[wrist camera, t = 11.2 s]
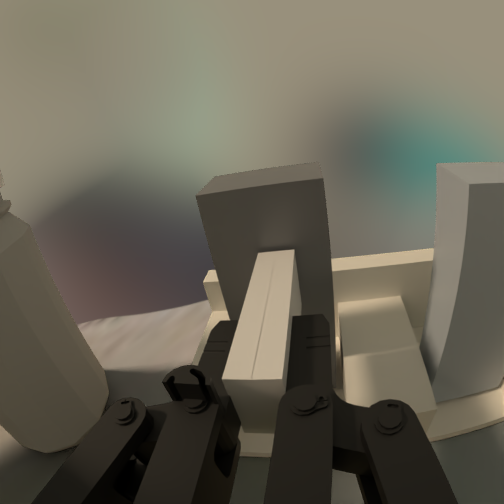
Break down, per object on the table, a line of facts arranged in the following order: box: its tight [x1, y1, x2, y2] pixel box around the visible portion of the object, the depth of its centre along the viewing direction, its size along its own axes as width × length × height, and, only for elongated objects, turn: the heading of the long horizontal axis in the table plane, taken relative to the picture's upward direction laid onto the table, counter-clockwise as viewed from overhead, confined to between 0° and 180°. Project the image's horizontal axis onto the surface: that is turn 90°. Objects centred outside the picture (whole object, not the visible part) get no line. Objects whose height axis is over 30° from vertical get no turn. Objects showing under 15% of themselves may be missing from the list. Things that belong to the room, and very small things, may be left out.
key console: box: [192, 248, 504, 457], centre depth 15 cm, size 10×31×6 cm, turn 82°
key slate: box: [419, 162, 504, 403], centre depth 12 cm, size 3×5×12 cm, turn 82°
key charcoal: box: [196, 162, 336, 388], centre depth 16 cm, size 3×5×12 cm, turn 82°
